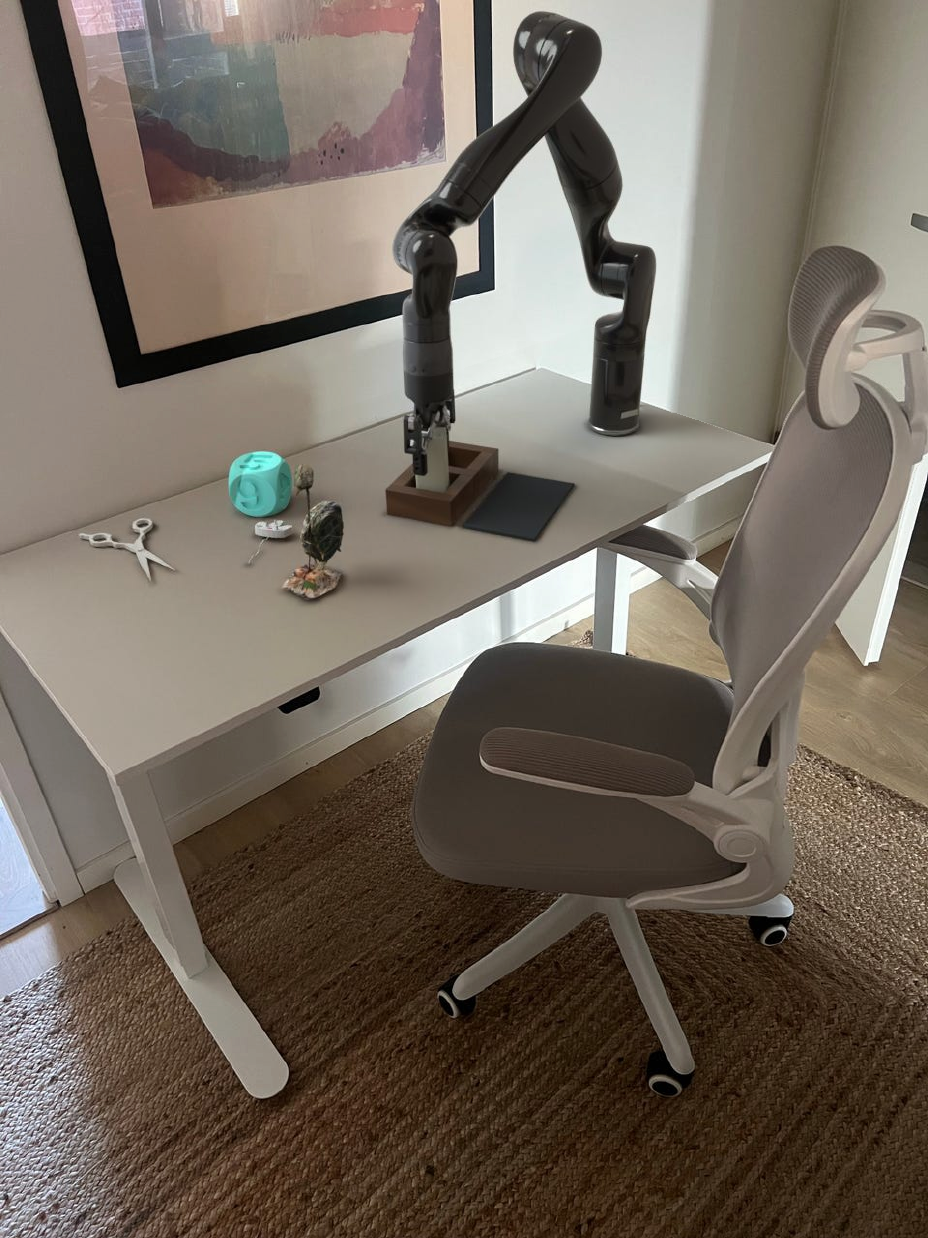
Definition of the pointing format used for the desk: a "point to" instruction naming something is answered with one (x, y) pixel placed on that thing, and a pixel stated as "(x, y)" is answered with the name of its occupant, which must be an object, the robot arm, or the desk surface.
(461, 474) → the rack
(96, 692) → the desk surface
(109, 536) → the scissors
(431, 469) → the box
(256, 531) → the game controller
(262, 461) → the decorative dice
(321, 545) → the plant with pod
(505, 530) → the mat
